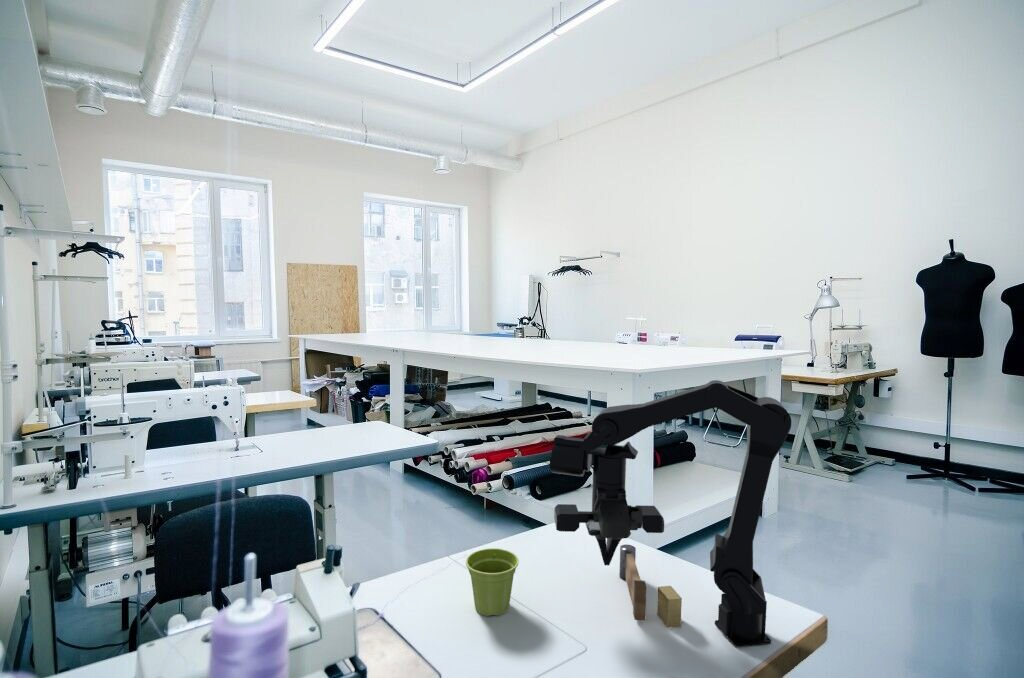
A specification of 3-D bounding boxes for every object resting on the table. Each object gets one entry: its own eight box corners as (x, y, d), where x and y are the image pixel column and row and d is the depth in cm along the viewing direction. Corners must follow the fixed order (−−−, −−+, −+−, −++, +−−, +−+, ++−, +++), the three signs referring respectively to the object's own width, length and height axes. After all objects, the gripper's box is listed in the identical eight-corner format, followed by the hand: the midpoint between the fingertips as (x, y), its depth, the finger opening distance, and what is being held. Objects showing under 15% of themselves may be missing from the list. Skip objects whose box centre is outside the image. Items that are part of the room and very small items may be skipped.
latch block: (669, 612, 94) (670, 585, 93) (680, 626, 90) (681, 598, 89) (656, 614, 93) (657, 586, 93) (667, 628, 89) (668, 599, 89)
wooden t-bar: (623, 578, 103) (624, 548, 103) (633, 578, 103) (634, 549, 103) (634, 619, 90) (635, 585, 90) (645, 620, 90) (646, 586, 89)
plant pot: (454, 609, 94) (454, 562, 93) (488, 587, 101) (488, 543, 101) (495, 630, 88) (496, 579, 87) (528, 604, 96) (529, 558, 95)
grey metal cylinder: (631, 572, 107) (632, 544, 107) (637, 580, 104) (638, 551, 104) (617, 573, 107) (618, 545, 106) (622, 581, 104) (623, 552, 103)
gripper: (560, 495, 86) (558, 588, 87) (675, 497, 86) (671, 589, 87) (554, 472, 97) (553, 555, 98) (656, 474, 97) (653, 556, 98)
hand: (606, 564), depth 95 cm, fingers closed
